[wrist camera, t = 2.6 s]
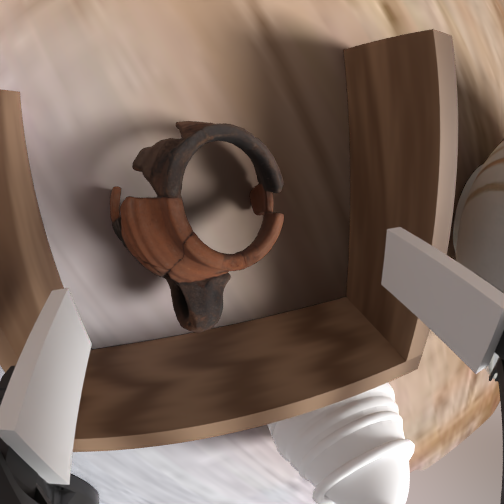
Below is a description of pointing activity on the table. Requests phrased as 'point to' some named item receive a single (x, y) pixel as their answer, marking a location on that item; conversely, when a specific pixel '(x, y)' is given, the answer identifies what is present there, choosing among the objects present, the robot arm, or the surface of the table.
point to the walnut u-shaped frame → (281, 325)
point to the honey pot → (350, 449)
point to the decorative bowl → (483, 224)
